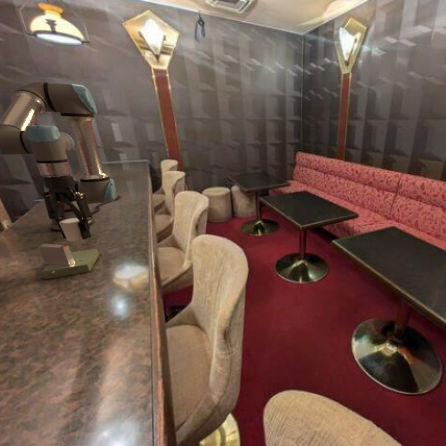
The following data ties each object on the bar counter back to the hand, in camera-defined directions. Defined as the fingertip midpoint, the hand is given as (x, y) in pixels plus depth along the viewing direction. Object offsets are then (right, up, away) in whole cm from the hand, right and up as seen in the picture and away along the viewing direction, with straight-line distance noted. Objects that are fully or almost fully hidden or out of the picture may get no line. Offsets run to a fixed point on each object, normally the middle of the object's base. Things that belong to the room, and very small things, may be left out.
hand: (77, 237), depth 90 cm
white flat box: (-2, -9, -4) cm, 10 cm away
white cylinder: (0, 0, 0) cm, 0 cm away
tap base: (-2, -11, -2) cm, 12 cm away
